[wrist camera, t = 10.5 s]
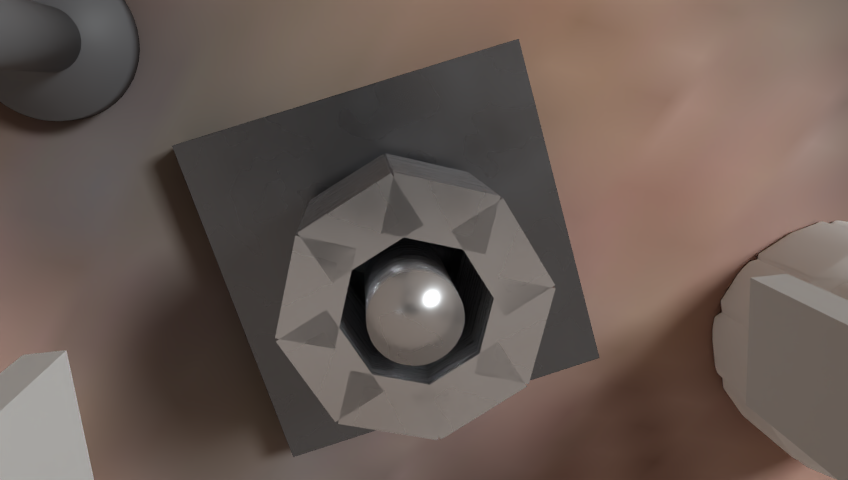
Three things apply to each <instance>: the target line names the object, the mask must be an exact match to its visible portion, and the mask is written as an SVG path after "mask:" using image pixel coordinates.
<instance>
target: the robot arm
mask: <svg viewBox="0 0 848 480" xmlns="http://www.w3.org/2000/svg"><path fill="white" fill-rule="evenodd" d="M746 405H747V406H748V407H749V408H751V409H752V410H753V411H754V412H755V413H757V414H758V415H759V416H760V417H762V418H763V419H764V420H765V421H766V422H768V423H769V424H770V425H771V426H773V427H774V428H775V429H776V430H777V431H779V432H780V433H781V434H782V435H784V436H785V437H786V438H787V439H788V440H790V441H791V442H792V443H793V444H795V445H796V446H797V447H798V448H799V449H801V450H802V451H803V452H804V453H806V454H807V455H808V456H809V457H810V458H812V459H813V460H814V461H815V462H817V463H818V464H819V465H820V466H821V467H823V468H824V469H825V470H826V471H828V472H829V473H830V474H831V475H832V476H834V477H835V478H836V479H837V480H848V300H846V299H844V298H841V297H839V296H837V295H835V294H832V293H830V292H828V291H825V290H823V289H821V288H819V287H816V286H814V285H812V284H809V283H807V282H805V281H803V280H800V279H798V278H796V277H793V276H791V275H789V274H780V275H771V276H761V277H752V278H750V303H749V330H748V357H747V384H746ZM0 480H94V478H93V473H92V468H91V464H90V459H89V454H88V449H87V445H86V440H85V435H84V431H83V426H82V421H81V417H80V412H79V407H78V403H77V398H76V393H75V388H74V384H73V379H72V374H71V370H70V365H69V360H68V356H67V351H66V350H65V351H55V352H46V353H36V354H27V355H22V356H21V357H20V358H18V359H17V360H16V361H15V362H14V363H12V364H11V365H10V366H9V367H7V368H6V369H5V370H4V371H3V372H1V373H0Z"/></svg>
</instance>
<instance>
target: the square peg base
mask: <svg viewBox="0 0 848 480" xmlns="http://www.w3.org/2000/svg"><path fill="white" fill-rule="evenodd" d="M172 147H173V150H174V152H175V155H176V157H177V160H178V162H179V165H180V168H181V170H182V173H183V175H184V178H185V180H186V183H187V185H188V188H189V191H190V193H191V196H192V198H193V201H194V203H195V206H196V209H197V211H198V214H199V216H200V219H201V221H202V224H203V227H204V229H205V232H206V234H207V237H208V239H209V242H210V245H211V247H212V250H213V252H214V255H215V257H216V260H217V262H218V265H219V268H220V270H221V273H222V275H223V278H224V280H225V283H226V286H227V288H228V291H229V293H230V296H231V298H232V301H233V304H234V306H235V309H236V311H237V314H238V316H239V319H240V322H241V324H242V327H243V329H244V332H245V334H246V337H247V339H248V342H249V345H250V347H251V350H252V352H253V355H254V357H255V360H256V363H257V365H258V368H259V370H260V373H261V375H262V378H263V381H264V383H265V386H266V388H267V391H268V393H269V396H270V399H271V401H272V404H273V406H274V409H275V411H276V414H277V416H278V419H279V422H280V424H281V427H282V429H283V432H284V434H285V437H286V440H287V442H288V445H289V447H290V450H291V452H292V455H293V457H295V456H298V455H301V454H304V453H307V452H310V451H313V450H316V449H319V448H323V447H326V446H329V445H332V444H335V443H338V442H341V441H344V440H347V439H350V438H353V437H357V436H360V435H363V434H366V433H369V432H372V431H375V430H373V429H366V428H360V427H354V426H348V425H342V424H338V421H336V422H335V421H334V420H333V418H332V417H331V416H330V414H329V413H328V412H327V410H326V409H325V408H324V406H323V405H322V403H321V402H320V401H319V399H318V398H317V397H316V395H315V394H314V393H313V391H312V390H311V389H310V387H309V386H308V385H307V383H306V382H305V380H304V379H303V378H302V376H301V375H300V374H299V372H298V371H297V370H296V368H295V367H294V366H293V364H292V363H291V361H290V360H289V359H288V357H287V356H286V355H285V353H284V352H283V351H282V349H281V348H280V347H279V345H278V344H277V342H276V339H277V338H275V335H276V330H277V325H278V320H279V315H280V310H281V305H282V300H283V295H284V290H285V285H286V280H287V275H288V270H289V265H290V260H291V255H292V250H293V245H294V240H295V235H296V233H297V230H298V228H299V226H300V223H301V221H302V218H303V216H304V213H305V211H306V209H307V206H308V204H309V202H310V200H311V199H313V198H314V197H316V196H317V195H319V194H320V193H322V192H324V191H325V190H327V189H328V188H330V187H331V186H333V185H335V184H336V183H338V182H339V181H341V180H342V179H344V178H346V177H347V176H349V175H350V174H352V173H353V172H355V171H357V170H358V169H360V168H361V167H363V166H364V165H366V164H368V163H369V162H371V161H372V160H374V159H375V158H377V157H378V156H380V155H382V154H383V155H384V157H385V153H386V154H391V155H395V156H399V157H404V158H408V159H413V160H417V161H422V162H426V163H431V164H435V165H440V166H444V167H448V168H453V169H457V170H462V171H466V172H469V173H470V174H471V175H473V176H474V177H475V178H477V179H478V180H479V181H481V182H482V183H483V184H485V185H486V186H487V187H489V188H490V189H492V190H493V191H494V192H496V193H497V194H498V195H500V196H501V197H502V198H503V199H504V200H505V202H506V204H507V205H508V207H509V209H510V210H511V212H512V214H513V215H514V217H515V219H516V220H517V222H518V224H519V225H520V227H521V229H522V230H523V232H524V234H525V236H526V237H527V239H528V241H529V242H530V244H531V246H532V247H533V249H534V251H535V252H536V254H537V256H538V257H539V259H540V261H541V262H542V264H543V266H544V267H545V269H546V271H547V272H548V274H549V276H550V277H551V279H552V281H553V282H554V284H555V286H554V287H555V288H556V289H555V292H554V296H553V299H552V303H551V307H550V310H549V314H548V317H547V321H546V324H545V328H544V332H543V335H542V339H541V342H540V346H539V349H538V353H537V356H536V360H535V364H534V367H533V371H532V374H531V378H530V380H533V379H536V378H539V377H542V376H545V375H548V374H551V373H554V372H557V371H560V370H563V369H567V368H570V367H573V366H576V365H579V364H582V363H585V362H588V361H591V360H594V359H597V358H599V354H598V351H597V347H596V343H595V339H594V335H593V331H592V327H591V323H590V319H589V315H588V311H587V307H586V303H585V299H584V295H583V291H582V287H581V283H580V279H579V275H578V272H577V268H576V264H575V260H574V256H573V252H572V248H571V244H570V240H569V236H568V232H567V228H566V224H565V220H564V216H563V212H562V208H561V204H560V200H559V196H558V193H557V189H556V185H555V181H554V177H553V173H552V169H551V165H550V161H549V157H548V153H547V149H546V145H545V141H544V137H543V133H542V129H541V125H540V121H539V117H538V114H537V110H536V106H535V102H534V98H533V94H532V90H531V86H530V82H529V78H528V74H527V70H526V66H525V62H524V58H523V54H522V50H521V46H520V42H519V39H517V40H513V41H510V42H507V43H504V44H500V45H497V46H494V47H491V48H488V49H484V50H481V51H478V52H475V53H471V54H468V55H465V56H462V57H458V58H455V59H452V60H449V61H445V62H442V63H439V64H436V65H432V66H429V67H426V68H423V69H419V70H416V71H413V72H410V73H406V74H403V75H400V76H397V77H393V78H390V79H387V80H384V81H380V82H377V83H374V84H371V85H367V86H364V87H361V88H358V89H354V90H351V91H348V92H345V93H342V94H338V95H335V96H332V97H329V98H325V99H322V100H319V101H316V102H312V103H309V104H306V105H303V106H299V107H296V108H293V109H290V110H286V111H283V112H280V113H277V114H273V115H270V116H267V117H264V118H260V119H257V120H254V121H251V122H247V123H244V124H241V125H238V126H234V127H231V128H228V129H225V130H221V131H218V132H215V133H212V134H208V135H205V136H202V137H199V138H196V139H192V140H189V141H186V142H183V143H179V144H176V145H173V146H172ZM462 256H463V251H462V249H458V248H453V247H448V246H443V245H438V244H434V243H429V242H424V241H419V240H414V239H410V238H405V237H404V238H402V239H400V240H399V241H397V242H396V243H394V244H392V245H391V246H389V247H388V248H386V249H385V250H383V251H381V252H380V253H378V254H377V255H375V256H373V257H372V258H370V259H369V260H367V261H366V262H364V263H362V264H361V265H359V266H358V267H356V268H354V269H353V270H352V271H351V276H350V280H349V284H350V285H351V287H352V288H353V290H354V291H355V293H356V294H357V296H358V297H359V299H360V300H361V301H362V303H363V304H364V306H365V307H366V325H367V331H368V335H369V337H370V339H371V341H372V343H373V345H374V346H375V347H376V349H377V350H378V351H379V352H380V353H381V354H382V355H384V356H385V357H386V358H388V359H390V360H391V361H393V362H396V363H399V364H403V365H409V366H419V365H425V364H429V363H432V362H435V361H437V360H439V359H440V358H442V357H444V356H445V355H446V354H447V353H449V352H450V351H451V350H452V349H453V347H454V346H455V345H456V343H457V342H458V340H459V338H460V336H461V334H462V331H463V328H464V322H465V313H464V307H463V303H462V301H461V298H460V296H459V294H458V292H457V290H456V288H455V284H456V280H457V276H458V272H459V268H460V264H461V260H462Z"/></svg>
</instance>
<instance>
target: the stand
mask: <svg viewBox="0 0 848 480" xmlns="http://www.w3.org/2000/svg"><path fill="white" fill-rule="evenodd" d="M139 52H140V47H139V36H138V31H137V27H136V24H135V20H134V18H133V15H132V13H131V11H130V9H129V7H128V5H127V4H126V2H125V1H124V0H0V102H1V103H3V104H4V105H6V106H7V107H9V108H11V109H13V110H14V111H16V112H18V113H21V114H23V115H26V116H29V117H32V118H36V119H40V120H47V121H66V120H75V119H82V118H87V117H91V116H93V115H96V114H98V113H101V112H102V111H104V110H106V109H108V108H109V107H111V106H112V105H113V104H115V103H116V102H117V101H118V100H119V99H120V98H121V97H122V96H123V95H124V93H125V92H126V91H127V89H128V88H129V86H130V84H131V82H132V80H133V78H134V76H135V73H136V70H137V66H138V62H139Z"/></svg>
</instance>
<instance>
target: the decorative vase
mask: <svg viewBox="0 0 848 480" xmlns="http://www.w3.org/2000/svg"><path fill="white" fill-rule="evenodd" d="M780 274H789V275H791V276H793V277H796V278H798V279H800V280H803V281H805V282H807V283H809V284H812V285H814V286H816V287H819V288H821V289H823V290H825V291H828V292H830V293H832V294H835V295H837V296H839V297H841V298H844V299H846V300H848V222H845V221H839V220H836V221H834V222H832V223H827V222H823V221H821V222H819V223H816V224H813V225H811V226H808V227H805V228H803V229H800V230H797V231H795V232H792V233H790V234H788V235H787V236H785V237H784V238H782V239H781V240H779V241H778V242H776V243H774V244H773V245H771V246H770V247H768V248H767V249H765V250H764V251H762V252H761V253H759V254H758V259H757V260H753V261H750V262H749V263H747V264H746V265H745V266H744V267H743V269H742V270H741V271H740V272H739V273H738V275H737V276H736V278H735V279H734V281H733V282H732V284H731V285H730V287H729V289H728V290H727V292H726V293H725V295H724V296H723V298H722V300H721V309H722V312H721V313H720V314H718V315H717V316H715V318H714V323H713V328H712V342H713V351H714V361H715V368H716V371H717V373H718V374H719V375H720V376H721V377H722V381H723V388H724V390H725V391H726V393H727V394H728V395H729V397H730V398H731V400H732V401H733V403H734V404H735V405H736V407H737V408H738V410H739V411H740V413H741V414H742V415H743V416H744V417H745V418H746V419H747V420H749V421H750V422H751V423H752V424H753V425H754V426H756V427H757V428H758V429H759V430H760V431H762V432H763V433H764V434H765V435H766V436H768V437H769V438H770V439H771V440H772V441H773V442H775V443H776V444H777V445H778V446H779V447H781V448H782V449H783V450H784V451H785V452H786V453H788V454H789V455H790V456H791V457H793V458H794V459H797V460H799V461H800V462H801V463H802V464H803V465H805V466H806V467H808V468H810V469H813V470H815V471H817V472H820V473H822V474H824V475H827V476H829V477H832V478H835V477H834V476H832V475H831V474H830V473H829V472H828V471H826V470H825V469H824V468H823V467H821V466H820V465H819V464H818V463H817V462H815V461H814V460H813V459H812V458H810V457H809V456H808V455H807V454H806V453H804V452H803V451H802V450H801V449H799V448H798V447H797V446H796V445H795V444H793V443H792V442H791V441H790V440H788V439H787V438H786V437H785V436H784V435H782V434H781V433H780V432H779V431H777V430H776V429H775V428H774V427H773V426H771V425H770V424H769V423H768V422H766V421H765V420H764V419H763V418H762V417H760V416H759V415H758V414H757V413H755V412H754V411H753V410H752V409H751V408H749V407H748V406H747V405H746V384H747V357H748V330H749V303H750V278H752V277H761V276H771V275H780ZM835 479H836V478H835Z"/></svg>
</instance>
